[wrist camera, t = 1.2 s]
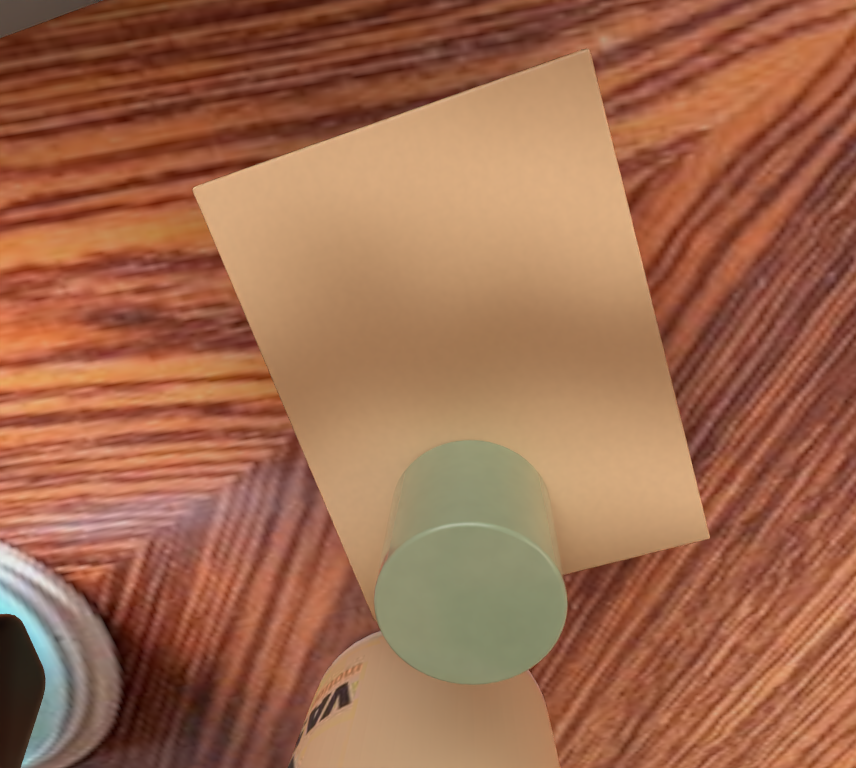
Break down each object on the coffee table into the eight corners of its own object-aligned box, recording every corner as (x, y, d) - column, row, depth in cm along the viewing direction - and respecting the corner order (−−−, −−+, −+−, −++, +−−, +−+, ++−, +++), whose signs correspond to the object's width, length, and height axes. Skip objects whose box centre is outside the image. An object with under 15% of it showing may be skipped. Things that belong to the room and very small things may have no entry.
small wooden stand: (682, 483, 23) (711, 539, 20) (386, 560, 24) (374, 622, 22) (572, 51, 19) (589, 47, 16) (228, 172, 21) (190, 188, 18)
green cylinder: (569, 557, 21) (589, 662, 17) (421, 594, 21) (409, 704, 18) (526, 419, 19) (537, 501, 16) (369, 463, 20) (345, 551, 16)
